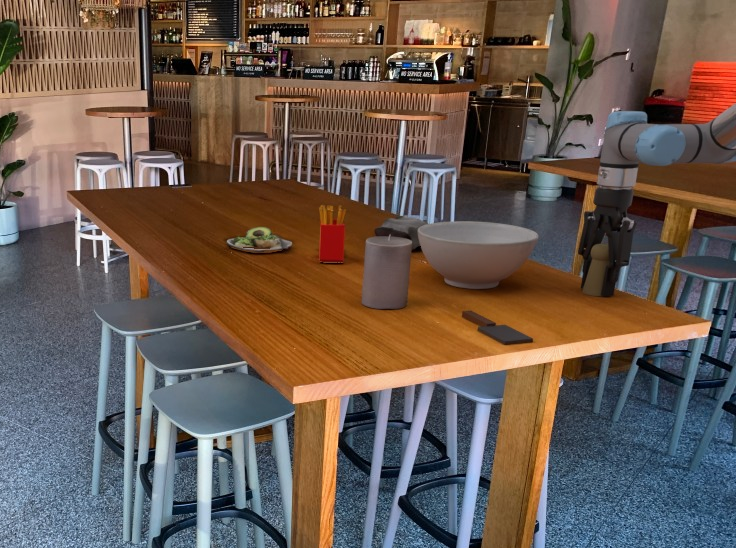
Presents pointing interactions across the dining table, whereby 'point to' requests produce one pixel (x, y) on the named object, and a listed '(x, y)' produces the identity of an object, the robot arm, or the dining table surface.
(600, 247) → the pepper mill
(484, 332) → the spatula
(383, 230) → the rock
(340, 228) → the french fries container
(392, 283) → the pillar candle
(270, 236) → the salad plate
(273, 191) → the dining table surface
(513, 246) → the decorative bowl
